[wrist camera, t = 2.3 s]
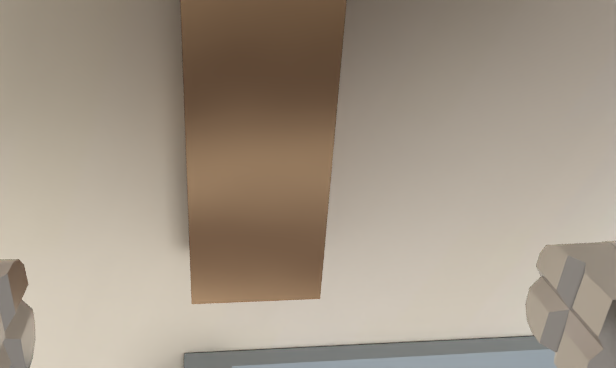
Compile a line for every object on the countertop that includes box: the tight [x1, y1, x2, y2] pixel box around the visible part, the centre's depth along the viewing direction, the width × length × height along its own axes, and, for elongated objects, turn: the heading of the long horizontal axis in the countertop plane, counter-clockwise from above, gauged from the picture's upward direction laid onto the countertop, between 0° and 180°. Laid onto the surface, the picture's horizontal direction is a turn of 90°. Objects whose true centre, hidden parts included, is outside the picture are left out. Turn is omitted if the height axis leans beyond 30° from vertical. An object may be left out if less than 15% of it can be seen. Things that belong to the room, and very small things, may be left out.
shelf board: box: [180, 0, 347, 304], centre depth 20 cm, size 18×5×4 cm, turn 176°
